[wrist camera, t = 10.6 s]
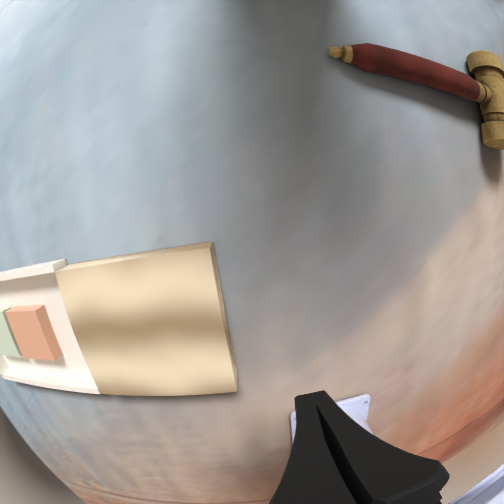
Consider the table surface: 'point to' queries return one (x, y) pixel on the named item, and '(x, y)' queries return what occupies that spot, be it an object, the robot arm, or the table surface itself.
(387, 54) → the gavel
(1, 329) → the sage tile
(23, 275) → the tray
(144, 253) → the maple board
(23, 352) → the terracotta tile
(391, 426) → the table surface
